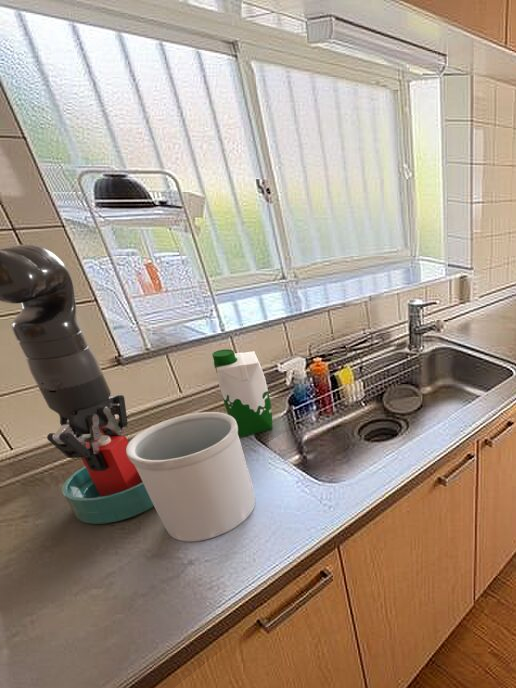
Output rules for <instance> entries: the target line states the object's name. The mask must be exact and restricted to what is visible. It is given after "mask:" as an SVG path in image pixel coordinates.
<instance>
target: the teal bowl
mask: <svg viewBox="0 0 516 688" xmlns="http://www.w3.org/2000/svg"><path fill="white" fill-rule="evenodd" d="M62 485H63V486H62V490H61V492H62V494H63V496H64V498H65V499H66V502H67V503H68V506H70V508H71V510H72V512H73V513H74V515H75V517H76V519H77V520H79V521H81V522H82V523H85V524H90V525H91V524H92V525H93V524H94V525H100V524H101V525H102V524H109V523H114V522H119V521H123V520H127V519H130V518H132V517H136V516H138V515H141V513H144V512H146V511H148V510H150V509H151V508H153V507H154V505H153V503H152V501H151V499H150V497H149V494H148V492H147V490H146V488H145V486H144V484H143V482H142V483H140V484H138V485H136V486H134V487H132V488H129V489H127V490H125V491H122V492H119V493H115V494H112V495H108V496H103V497H101V495H100V494H99V492H98V490H97V488H96V486H95V484H94V482H93V480H92V478H91V476H90V474H89V472H88V470H87V468H86V466H85V465H84V466H83V467H82V468H80V469H78V470H76V471H75V472H74V473H72V474H71V475H70V476H69V477H67V479H66V480H65V482H64V483H63V484H62Z"/></svg>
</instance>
